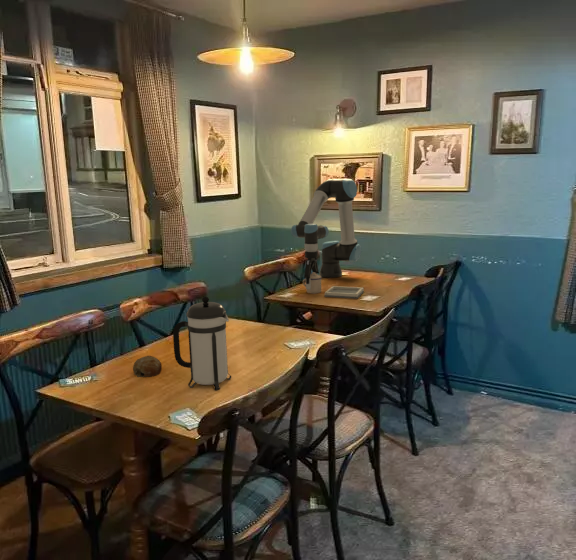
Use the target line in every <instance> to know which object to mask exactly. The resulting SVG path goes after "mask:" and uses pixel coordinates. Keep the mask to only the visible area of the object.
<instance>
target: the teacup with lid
mask: <svg viewBox="0 0 576 560" xmlns="http://www.w3.org/2000/svg"><path fill="white" fill-rule="evenodd" d="M310 278H311V289H306V293H308V294H321V292H322V278H323V277H321V276H320V274H318V273H317V274H316V273H315V272H313V271H311V275H310ZM302 285H303V286H304V287H305V288H306V278H304V279H303V280H302Z"/></svg>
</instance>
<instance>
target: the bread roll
mask: <svg viewBox="0 0 576 560" xmlns="http://www.w3.org/2000/svg"><path fill="white" fill-rule="evenodd" d="M132 370H133V373H134V375H135V376H136V377H137V378H152V376H153V377H156V376H157V375H160V374H161V372H162V362H161V361H160V359H158V357H156V356H153V355H145V356H142V357H140V358H137V359H136V360H135V361H134V362H133V366H132Z"/></svg>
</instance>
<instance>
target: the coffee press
mask: <svg viewBox="0 0 576 560" xmlns="http://www.w3.org/2000/svg"><path fill="white" fill-rule="evenodd" d="M201 301H202V302H197V303H194V304H192V305H191V306H189V308H188V310H187V312H186V318H187V320H184V321H180V322H178V323H177V324H176V325H175V326H174V328H173V331H172V341H173V352H174V358H175V361H176V362H177V363H178V365H179V366H180V367H183V368H187V369H190V380H189V382H188V383H187V385H188V387H189V389H193V388H194V387H195V386H196V385H197V384H198V385H204V386H205V385H206V386H208V385H209V386H211V385H213V389H214V391H218V390H219V391H220V389H221V388H220V386H221V385H220V383H222V382H224V381H225V380H229V381H230V380H231V379H232V375H230V373H229V370H228V368H229V367H228V353H227V352H228V349H227V348H228V347H227V329H226V328H227V323H228V322H229V321H230V320H229V317H228V315H227V310H226V309H225V308H224V306H223V305H222V304H221V303H218V302H214V301H210V298H209V296H203V297H202V298H201ZM185 327H187V331H188V347H189V349H188V350H189V361H185V360H184V359H183V358H182V356H181V348H180V347H181V345H180V343H181V342H180V330H181V329H182V328H185ZM228 375H229V377H228ZM192 382H193V383H192Z"/></svg>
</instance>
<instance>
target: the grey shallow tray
mask: <svg viewBox="0 0 576 560" xmlns="http://www.w3.org/2000/svg"><path fill="white" fill-rule="evenodd" d="M364 293H365V290H364V287H363V286H362V287H357V286H356V287H355V286H339V285H332V286H331V287H330V288H328V289H327V290H326V291H325V292H324V296H323V297H325V298H338V299H339V298H341V299H359V298H360V297H361V296H362V295H363V294H364ZM361 294H362V295H361Z"/></svg>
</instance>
